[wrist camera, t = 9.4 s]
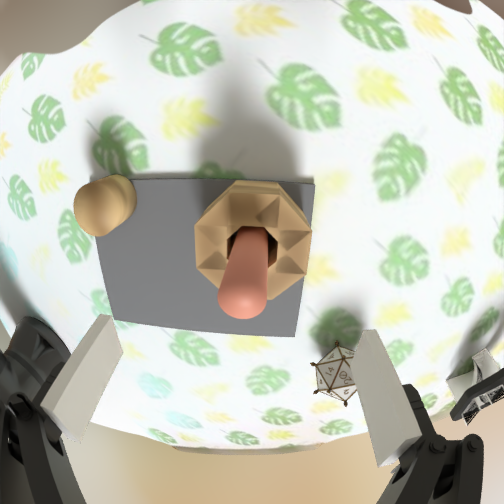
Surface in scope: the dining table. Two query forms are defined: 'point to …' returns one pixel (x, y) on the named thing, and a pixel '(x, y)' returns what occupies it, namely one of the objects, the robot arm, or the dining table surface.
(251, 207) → the bead
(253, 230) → the pink rounded cylinder
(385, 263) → the dining table surface
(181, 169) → the dining table surface
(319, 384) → the game die
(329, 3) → the dining table surface
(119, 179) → the loose tan rounded knob
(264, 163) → the dining table surface
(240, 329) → the mat
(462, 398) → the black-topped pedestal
